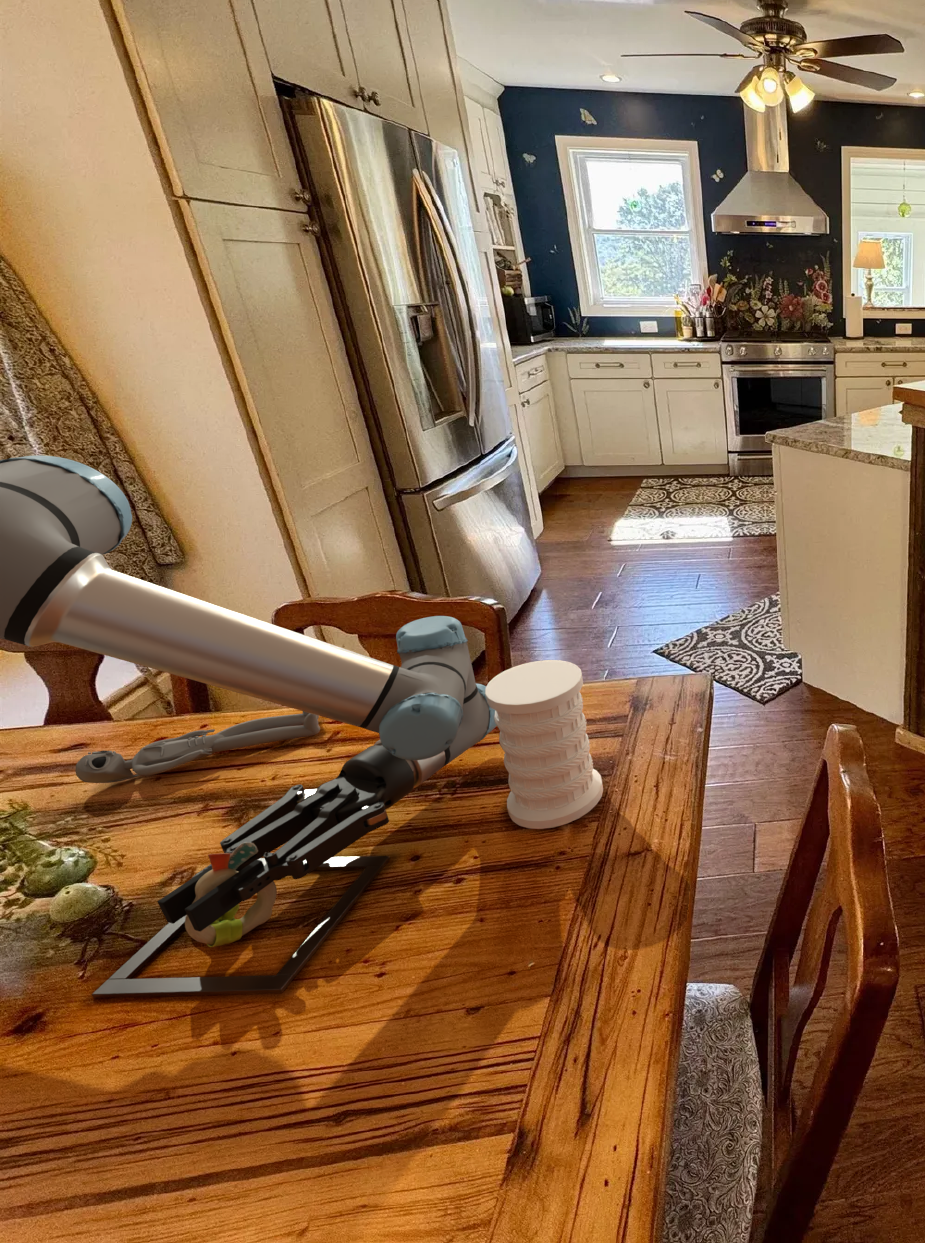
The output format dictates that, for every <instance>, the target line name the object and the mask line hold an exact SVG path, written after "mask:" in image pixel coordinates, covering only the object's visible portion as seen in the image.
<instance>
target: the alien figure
mask: <svg viewBox="0 0 925 1243" xmlns="http://www.w3.org/2000/svg"><path fill="white" fill-rule="evenodd" d="M319 718H320V716H318V715H315V714H311V713H308V712H304V711H302V713H295V714H284V715H275V716H267V717H260V718H255V719H252V720H246V721H243V722H241V723H237V724H234V725H232V726H229V727H227V728H224V729H222V730H221V731H219V732H217V733H215V731H216V730H215V728H214V729H199V730H193V731H189V732H186V733H185V734H182V735H180V736H177V737H171V738H166V739H162V740H161V739H160V740H158V741H154V742H151V743H148V744H146V745H144V746H143V747H141V749H139V751H137V753H135V755H134V756H133V757H132V759H128V760H125V759H124V757H123V756H122V754H121V753H118V752H117V751H115V750H113V751H112V750H106V749H105V750H97V751H92V752H91V751H88V752H87V754H86V755H83V756H82V757H81V758H80V759H79V760H78V761H77V762H76V764H75V768H74V770H75V771H74V772H75V776H76V777H77V778H78V779H79V780H80V781H81V782H84V783H88V784H111V783H119V782H122V781H126V780H130V779H135V778H138V777H140V776H141V777H142V776H146V777H147V776H154V775H157V774H161V773H164V772H167V771H170V770H172V769H175V768H178V767H181V766H183V765H185V764H188V763H192V762H194V761H197V760H200V759H203V758H205V757H208V756H211V755H212V754H215V753H218V752H226V751H231V750H237V749H242V748H247V747H253V746H259V745H264V744H269V743H275V742H281V741H288V740H293V739H295V740H296V739H300V738H309V737H313V736H315V735H317V734H319V733H320V731H321V727H320V725H319ZM208 733H214V734H209V735H208ZM133 772H134V773H135V774H133Z"/></svg>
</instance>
